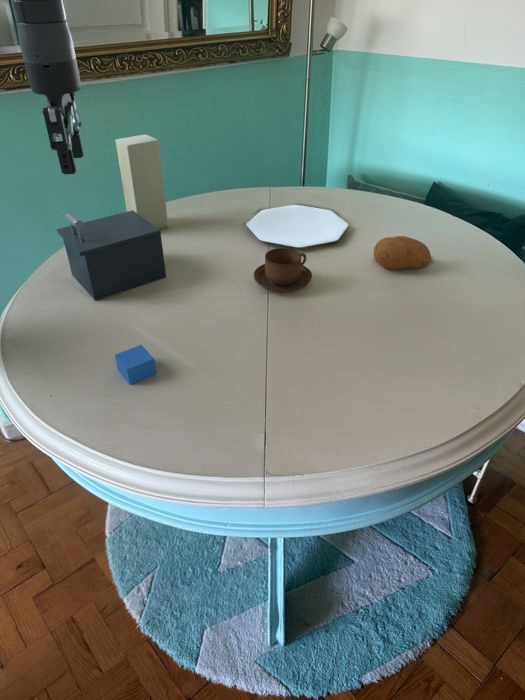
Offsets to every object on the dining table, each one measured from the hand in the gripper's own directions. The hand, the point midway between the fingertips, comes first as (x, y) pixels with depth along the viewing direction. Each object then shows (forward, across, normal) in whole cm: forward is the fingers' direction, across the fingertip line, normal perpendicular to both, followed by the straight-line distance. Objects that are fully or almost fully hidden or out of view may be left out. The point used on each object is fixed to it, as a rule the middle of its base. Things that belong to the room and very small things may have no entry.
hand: (73, 165), depth 88 cm
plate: (+26, -26, +44) cm, 58 cm away
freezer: (+26, -8, +3) cm, 27 cm away
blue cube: (+26, +27, +9) cm, 38 cm away
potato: (+26, -4, +63) cm, 69 cm away
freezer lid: (+16, -8, +2) cm, 18 cm away
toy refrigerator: (+26, -34, +8) cm, 43 cm away
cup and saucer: (+26, -1, +37) cm, 45 cm away
